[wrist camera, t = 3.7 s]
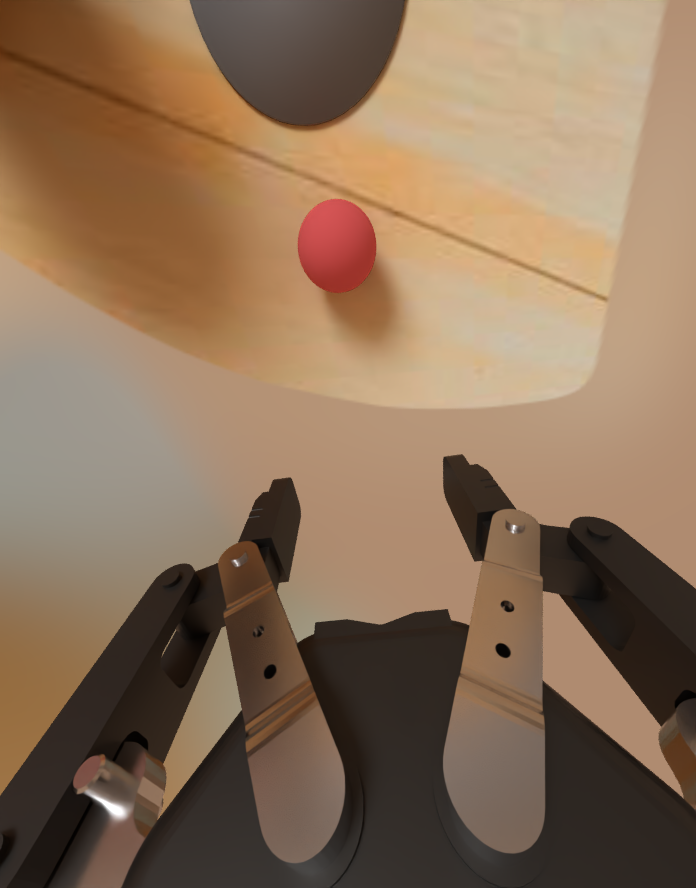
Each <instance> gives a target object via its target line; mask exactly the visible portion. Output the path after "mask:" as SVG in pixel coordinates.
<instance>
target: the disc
mask: <svg viewBox="0 0 696 888" xmlns="http://www.w3.org/2000/svg"><path fill="white" fill-rule="evenodd" d="M404 1H405V0H190V3H191V6H192V10H193V13H194V16H195V19H196V21H197V24H198V26H199V29H200V32H201V34H202V37H203V39H204V41H205V43H206V45H207V47H208V49H209V51H210V53H211V55H212V57H213V58H214V60H215V62H216V63H217V65H218V66H219V68H220V70H221V71H222V73H223V74H224V76H225V77H226V78H227V80H228V81H229V82H230V83H231V85H232V86H233V87H234V89H235V90H236V91H237V92H238V93H239V94H240V95H241V96H242V97H243V98H244V99H245V100H246V101H247V102H249V103H250V104H251V105H252V106H254V107H255V108H256V109H257V110H259V111H261V112H262V113H264V114H266V115H267V116H269V117H271V118H273V119H276V120H278V121H281V122H284V123H288V124H292V125H305V126H308V125H315V124H321V123H324V122H327V121H330V120H332V119H334V118H336V117H338V116H340V115H342V114H344V113H345V112H346V111H348V110H349V109H350V108H352V107H353V106H354V105H355V104H356V103H357V102H358V101H359V100H360V99H361V98H362V97H363V96H364V95H365V94H366V93H367V91H368V90H369V89H370V87H371V86H372V85H373V84H374V82H375V81H376V79H377V77H378V75H379V74H380V72H381V70H382V69H383V67H384V65H385V63H386V60H387V58H388V56H389V54H390V52H391V49H392V46H393V44H394V41H395V38H396V35H397V32H398V28H399V24H400V20H401V16H402V12H403V7H404Z"/></svg>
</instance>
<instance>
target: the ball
mask: <svg viewBox="0 0 696 888" xmlns="http://www.w3.org/2000/svg"><path fill="white" fill-rule="evenodd" d="M298 253H299V258H300V262H301V265H302V267H303V269H304V271H305V273H306V274H307V276H308V277H309V278H310V280H311V281H312V282H313V283H315V284H316V285H317V286H318V287H320V288H322V289H324V290H326V291H329V292H334V293H341V292H347V291H350V290H352V289H354V288H356V287H357V286H359V285H360V284H361V283H362V282H363V281H364V280H365V279H366V277H367V276H368V275H369V273H370V271H371V269H372V267H373V264H374V261H375V256H376V238H375V233H374V229H373V227H372V224H371V222H370V220H369V218H368V217H367V216H366V214H365V213H364V212H363V211H362V210H361V209H360V208H359V207H358V206H356V205H355V204H353V203H351V202H349V201H346V200H342V199H331V200H327V201H324V202H322V203H320V204H318V205H317V206H315V207H314V208H313V209H312V210H311V211H310V212H309V213H308V214H307V216H306V217H305V219H304V221H303V223H302V225H301V228H300V231H299V237H298Z"/></svg>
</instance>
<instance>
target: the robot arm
mask: <svg viewBox="0 0 696 888" xmlns="http://www.w3.org/2000/svg"><path fill="white" fill-rule="evenodd" d="M443 487H444V494H445V498H446V500H447V503H448V505H449V507H450V509H451V512H452V514H453V516H454V518H455V520H456V522H457V525H458V527H459V529H460V531H461V533H462V536H463V538H464V540H465V542H466V544H467V546H468V549H469V551H470V553H471V555H472V557H473V559H474V561H482V565H481V571H480V575H479V581H478V586H477V591H476V596H475V601H474V607H473V611H472V616H471V622H470V625H467V624H464V623H461V622H457V621H452V620H451V619H450V615H449V613H448V609H445V610H435V611H425V612H415V613H412V614H409V615H407V616H404V617H401V618H399V619H396V620H394V621H391V622H388V623H386V624H382V625H378V624H372V623H365V622H360V621H354V620H348V619H346V620H336V621H326V622H316V623H315V631H314V634H313V635H311V636H309V637H307V638H305V639H303V640H302V641H300V642H298V643H297V640H296V638H295V635H294V633H293V630H292V628H291V625H290V623H289V621H288V618H287V615H286V613H285V611H284V608H283V606H282V603H281V601H280V598H279V596H278V593H277V589H278V585H279V583H281V582H288V581H289V577H290V571H291V566H292V561H293V556H294V550H295V545H296V540H297V534H298V528H299V524H300V518H301V510H300V504H299V500H298V497H297V494H296V491H295V487H294V484H293V481H292V479H291V478H282V479H275V480H273V482H272V484H271V487H270V490H269V492H263V493H262V494H261V495H260V496H259V497H258V498H257V499H256V500H255V503H254V505H253V507H252V511H251V512H250V515H249V518H248V520H247V522H246V524H245V527H244V529H243V532H242V534H241V537H240V539H239V541H238V543H237V544H234V545H233V546H231V547H229V548H228V549H227V550H226V551H225V552H224V553H223V554H222V555H221V557H220V559H219V562H218V563H216V564H214V565H212V566H209V567H206V568H204V569H201V570H198V571H196V572H195V570H194V569H193V567H192V566H191V565H189V564H178V565H175V566H173V567H171V568H169V569H167V570H165V571H164V572H163V573H161V574H160V575H159V576H158V577H157V578H156V579H155V580H154V582H153V583H152V584H151V586H150V587H149V589H148V590H147V592H146V593H145V594H144V596H143V597H142V598H141V600H140V601H139V603H138V604H137V605H136V607H135V608H134V610H133V611H132V612H131V614H130V615H129V617H128V618H127V619H126V621H125V622H124V624H123V625H122V626H121V628H120V629H119V631H118V632H117V633H116V635H115V636H114V638H113V639H112V640H111V642H110V643H109V645H108V646H107V647H106V649H105V650H104V651H103V653H102V654H101V656H100V657H99V658H98V660H97V661H96V663H95V664H94V665H93V667H92V668H91V670H90V671H89V673H88V674H87V675H86V677H85V678H84V679H83V681H82V682H81V684H80V685H79V686H78V688H77V689H76V691H75V692H74V693H73V695H72V696H71V698H70V699H69V700H68V702H67V703H66V705H65V706H64V708H63V709H62V710H61V712H60V713H59V714H58V716H57V717H56V719H55V720H54V721H53V723H52V724H51V726H50V727H49V729H48V730H47V731H46V733H45V734H44V735H43V737H42V738H41V740H40V741H39V742H38V744H37V745H36V747H35V748H34V749H33V751H32V752H31V754H30V755H29V756H28V758H27V759H26V761H25V762H24V763H23V765H22V766H21V768H20V769H19V770H18V772H17V773H16V774H15V776H14V777H13V779H12V780H11V781H10V783H9V784H8V786H7V787H6V789H5V790H4V791H3V793H2V794H1V796H0V888H696V589H695V588H694V587H693V586H692V585H690V584H689V583H688V582H687V581H685V580H684V579H683V578H682V577H681V576H679V575H678V574H677V573H676V572H674V571H673V570H672V569H671V568H669V567H668V566H667V565H666V564H664V563H663V562H662V561H661V560H659V559H658V558H657V557H656V556H654V555H653V554H652V553H651V552H650V551H648V550H647V549H646V548H644V547H643V546H642V545H641V544H640V543H638V542H637V541H636V540H635V539H633V538H632V537H631V536H629V535H628V534H627V533H626V532H624V531H623V530H622V529H621V528H619V527H618V526H617V525H615V524H613V523H611V522H609V521H606V520H604V519H600V518H596V517H579V518H576V519H574V520H573V521H572V522H571V524H570V528H564V527H555V526H547V525H541V524H539V523H538V521H537V520H536V519H535V518H534V517H532V516H531V515H529V514H527V513H525V512H523V511H520V510H516V508H515V507H514V505H513V504H512V503H511V501H510V500H509V499H508V497H507V496H506V495H505V493H504V492H503V491H502V490H501V488H500V487H499V486H498V484H497V483H496V481H495V480H493V477H492V476H491V475H490V473H489V472H488V471H487V470H486V469H484V468H483V467H481V466H479V465H478V464H474V465H469V463H468V461H467V460H466V459H465V457H464V456H463V455H462V454H461V455H453V456H446V457H444V459H443ZM543 591H546V592H551V593H557V594H559V595H560V596H561V598H562V599H563V600H564V602H565V603H566V604H567V605H568V607H569V608H570V609H571V611H572V612H573V613H574V614H575V616H576V617H577V618H578V620H579V621H580V622H581V624H583V626H584V627H585V629H586V630H587V631H588V633H589V634H590V635H591V636H592V638H593V639H594V640H595V642H596V643H597V644H598V646H599V647H600V648H601V649H602V651H603V652H604V653H605V655H606V656H607V657H608V658H609V660H610V661H611V662H612V664H613V665H614V666H615V667H616V669H617V670H618V671H619V673H620V674H621V675H622V676H623V678H624V679H625V680H626V682H628V684H629V685H630V687H631V688H632V689H633V691H634V692H635V693H636V695H637V696H638V697H639V699H640V700H641V701H642V702H643V704H644V705H645V706H646V708H647V709H648V710H649V711H650V713H651V714H652V715H653V717H654V718H655V719H656V720H657V722H658V723H659V724H660V726H661V728H660V731H659V745H660V748H661V751H662V753H663V755H664V758H665V760H666V761H667V763H668V765H669V766H670V768H671V770H672V771H673V773H674V775H675V777H676V779H677V780H678V782H679V784H680V787H681V790H682V793H683V797H684V799H683V798H682V797H681V796H680V795H679V794H678V793H677V792H675V791H674V790H673V789H672V788H671V787H670V786H668V785H667V784H666V783H665V782H664V781H662V780H661V779H660V778H659V777H658V776H656V775H655V774H654V773H653V772H652V771H650V770H649V769H648V768H647V767H646V766H644V765H643V764H642V763H641V762H640V761H638V760H637V759H636V758H635V757H634V756H632V755H631V754H630V753H629V752H628V751H627V750H625V749H624V748H623V747H622V746H620V745H619V744H618V743H617V742H616V741H615V740H613V739H612V738H611V737H610V736H609V735H607V734H606V733H605V732H604V731H603V730H601V729H600V728H599V727H598V726H597V725H595V724H594V723H593V722H592V721H591V720H589V719H588V718H587V717H586V716H584V715H583V714H582V713H581V712H580V711H579V710H577V709H576V708H575V707H574V706H573V705H571V704H570V703H569V702H568V701H567V700H566V699H564V698H563V697H562V696H561V695H560V694H558V693H557V692H556V691H555V690H554V689H552V688H551V687H550V686H549V685H548V684H546V683H545V682H544V681H543V680H542V667H543V666H542V664H543V662H542V661H543V656H542V655H543V648H542V647H543ZM224 626H226V630H227V635H228V640H229V645H230V650H231V656H232V661H233V666H234V671H235V676H236V681H237V686H238V691H239V697H240V702H241V707H242V711H241V712H240V713H239V714H238V716H237V717H236V718H235V719H234V721H233V722H232V723H231V725H230V726H229V727H228V729H227V730H226V731H225V733H224V734H223V735H222V737H221V738H220V739H219V740H218V742H217V743H216V744H215V746H214V747H213V748H212V750H211V751H210V752H209V754H208V755H207V756H206V758H205V759H204V760H203V761H202V763H201V764H200V765H199V767H198V768H197V769H196V771H195V772H194V773H193V775H192V776H191V777H190V778H189V780H188V781H187V782H186V784H185V785H184V786H183V788H182V789H181V790H180V792H179V793H178V794H177V795H176V797H175V798H174V799H173V801H172V802H171V803H170V805H169V806H168V807H167V809H166V810H165V811H164V813H163V814H162V815H161V816H160V818H159V819H158V817H159V815H160V812H161V810H162V807H163V795H164V792H165V786H166V770H165V767H164V765H163V763H164V761H165V758H166V756H167V754H168V751H169V749H170V747H171V744H172V742H173V740H174V737H175V735H176V733H177V730H178V728H179V726H180V723H181V721H182V719H183V716H184V714H185V712H186V709H187V707H188V705H189V702H190V700H191V698H192V695H193V693H194V691H195V688H196V686H197V684H198V681H199V679H200V677H201V674H202V672H203V670H204V667H205V665H206V663H207V660H208V658H209V656H210V653H211V651H212V649H213V646H214V644H215V642H216V639H217V637H218V635H219V632H220V630H221V628H222V627H224ZM175 629H176V632H175V634H174V636H173V638H172V639H171V641H170V643H169V645H168V647H167V648H166V650H165V652H164V654H163V656H162V653H163V651H164V649H165V647H166V645H167V644H168V642H169V640H170V638H171V636H172V635H173V633H174V631H175ZM161 657H162V658H161Z"/></svg>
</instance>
